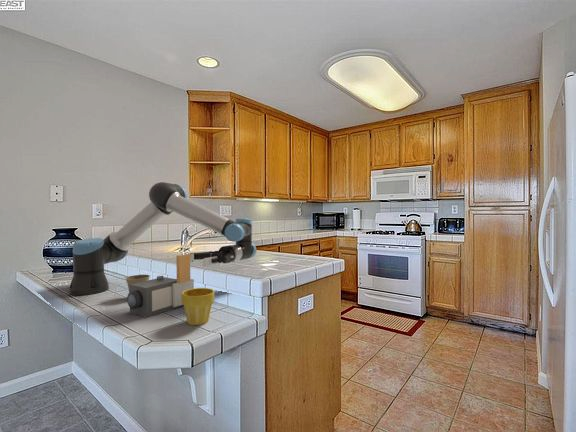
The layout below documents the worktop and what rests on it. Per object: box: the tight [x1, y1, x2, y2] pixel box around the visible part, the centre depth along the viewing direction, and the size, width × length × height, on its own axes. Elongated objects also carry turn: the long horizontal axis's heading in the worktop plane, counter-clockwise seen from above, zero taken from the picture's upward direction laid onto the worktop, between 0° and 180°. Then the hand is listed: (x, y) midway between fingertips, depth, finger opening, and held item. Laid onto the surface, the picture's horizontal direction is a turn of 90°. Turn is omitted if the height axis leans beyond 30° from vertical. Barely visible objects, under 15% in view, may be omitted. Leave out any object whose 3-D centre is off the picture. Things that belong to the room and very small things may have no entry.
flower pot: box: [124, 274, 151, 290], centre depth 127 cm, size 9×9×9 cm
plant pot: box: [181, 287, 215, 326], centre depth 98 cm, size 10×10×10 cm
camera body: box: [126, 275, 182, 318], centre depth 110 cm, size 16×10×11 cm, turn 148°
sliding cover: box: [172, 253, 195, 307], centre depth 114 cm, size 9×2×18 cm, turn 148°
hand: (191, 260), depth 117 cm, fingers open, 13 cm apart
